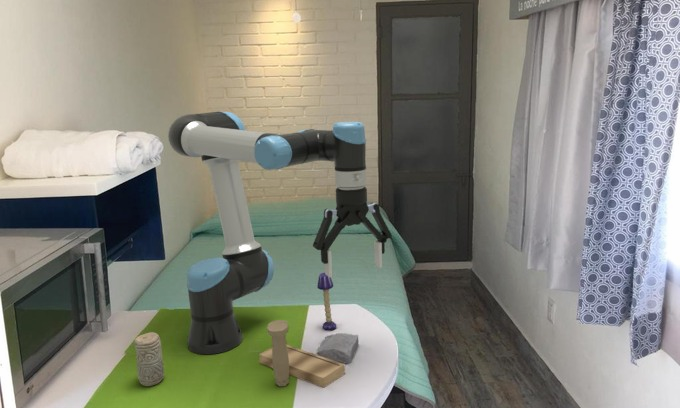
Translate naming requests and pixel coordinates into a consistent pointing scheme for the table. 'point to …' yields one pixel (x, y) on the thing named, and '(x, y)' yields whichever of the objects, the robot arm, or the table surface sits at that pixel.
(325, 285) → the toy lamp
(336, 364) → the oak board
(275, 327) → the handle
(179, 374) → the table surface
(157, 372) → the carving
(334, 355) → the stone block
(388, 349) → the table surface
